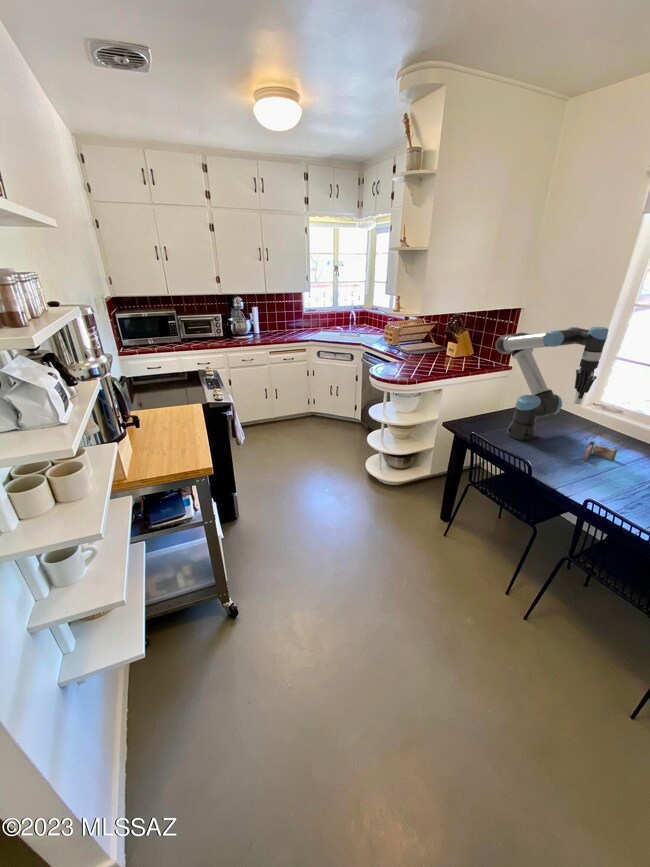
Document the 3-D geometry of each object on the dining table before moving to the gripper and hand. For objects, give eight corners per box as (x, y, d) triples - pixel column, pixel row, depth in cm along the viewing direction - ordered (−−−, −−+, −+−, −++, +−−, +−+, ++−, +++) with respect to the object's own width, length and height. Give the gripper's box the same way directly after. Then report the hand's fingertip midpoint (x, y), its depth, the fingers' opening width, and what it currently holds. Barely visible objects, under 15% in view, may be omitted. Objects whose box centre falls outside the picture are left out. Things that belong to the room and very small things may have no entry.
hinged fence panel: (586, 453, 189) (590, 443, 187) (589, 454, 189) (592, 444, 186) (583, 460, 183) (586, 450, 181) (585, 461, 182) (589, 451, 180)
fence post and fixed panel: (586, 452, 190) (589, 442, 187) (587, 451, 191) (590, 440, 188) (613, 460, 182) (617, 449, 179) (614, 459, 183) (618, 448, 180)
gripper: (574, 356, 185) (562, 399, 195) (590, 363, 173) (577, 408, 183) (589, 355, 184) (577, 398, 195) (606, 362, 173) (592, 408, 183)
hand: (577, 403), depth 189 cm, fingers closed
